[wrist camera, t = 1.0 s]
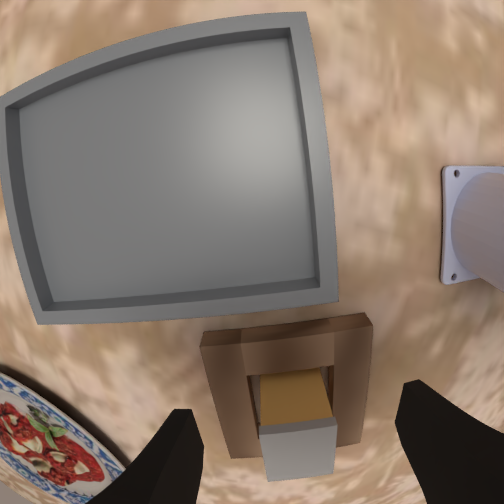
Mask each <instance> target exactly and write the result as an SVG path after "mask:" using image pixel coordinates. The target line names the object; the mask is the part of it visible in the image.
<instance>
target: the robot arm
mask: <svg viewBox="0 0 504 504" xmlns="http://www.w3.org/2000/svg"><path fill="white" fill-rule="evenodd" d="M455 170H456V176H454V171H455ZM442 179H443V247H442V265H441V277H440V278H441V282H442V283H444V284H445V285H449V284H454V283H459V282H464V281H468V280H473V279H477V278H482V279H483V280H485V281H487V282H488V283H490V284H491V285H493V286H494V287H496V288H497V289H499V290H501V291H502V292H504V166H445V167H444V168H443V171H442ZM453 274H454V277H453V278H452V279H451V277H452V275H453ZM395 425H396V428H397V432H398V435H399V438H400V441H401V444H402V447H403V449H404V451H405V453H406V456H407V458H408V460H409V462H410V464H411V466H412V469H413V471H414V473H415V475H416V477H417V479H418V482H419V484H420V486H421V488H422V491H423V493H424V496H425V499H426V502H427V504H504V433H501V432H499V431H497V430H495V429H493V428H491V427H489V426H487V425H485V424H484V423H482V422H480V421H479V420H477V419H475V418H474V417H472V416H470V415H469V414H467V413H466V412H464V411H463V410H461V409H460V408H458V407H457V406H455V405H454V404H453V403H451V402H450V401H448V400H447V399H446V398H444V397H443V396H441V395H440V394H439V393H437V392H436V391H435V390H433V389H432V388H431V387H429V386H428V385H426V384H425V383H424V382H422V381H421V380H415V381H411V382H407V383H404V385H403V390H402V395H401V399H400V403H399V407H398V411H397V415H396V419H395ZM203 454H204V445H203V442H202V439H201V436H200V433H199V430H198V427H197V424H196V421H195V418H194V415H193V412H192V409H174V410H173V411H172V412H171V413H170V415H169V416H168V418H167V419H166V420H165V422H164V423H163V425H162V426H161V427H160V429H159V430H158V431H157V433H156V434H155V435H154V437H153V438H152V439H151V440H150V442H149V443H148V444H147V445H146V447H145V448H144V449H143V450H142V452H141V453H140V454H139V455H138V456H137V457H136V458H135V460H134V461H133V462H132V463H131V464H130V465H129V466H128V467H127V468H126V469H125V470H124V471H123V472H122V473H121V474H120V475H119V476H118V477H117V478H116V479H115V480H114V481H113V482H112V483H111V484H110V485H108V486H107V487H106V488H105V489H104V490H102V491H101V492H100V493H99V494H97V495H96V496H95V497H93V498H92V499H91V500H89V501H88V502H86V503H85V504H196V500H197V495H198V491H199V486H200V480H201V475H202V469H203Z"/></svg>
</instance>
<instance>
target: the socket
mask: <svg viewBox="0 0 504 504" xmlns="http://www.w3.org/2000/svg"><path fill="white" fill-rule="evenodd" d="M372 337H373V325H372V323H371V321H370V320H369V318H368V317H367V315H366V314H365V312H364V313H358V314H352V315H346V316H339V317H333V318H326V319H319V320H312V321H304V322H296V323H288V324H280V325H272V326H263V327H253V328H243V329H233V330H221V331H209V332H204V333H203V337H202V340H201V344H200V350H201V354H202V358H203V362H204V366H205V370H206V374H207V378H208V382H209V385H210V389H211V393H212V396H213V400H214V404H215V407H216V411H217V414H218V418H219V421H220V424H221V428H222V431H223V434H224V438H225V441H226V444H227V448H228V451H229V454H230V457H231V458H253V457H263V454H262V449H261V444H260V439H259V426H261V423H258V420H257V415H256V409H255V403H254V398H253V392H252V386H251V381H250V375H259V374H269V373H279V372H287V371H295V370H303V369H310V368H317V367H324V366H329V385H328V400H329V404H330V408H331V411H332V415H333V417H335V418H336V422H337V438H336V447H342V446H347V445H352V444H357V443H360V441H361V435H362V429H363V422H364V415H365V408H366V400H367V392H368V383H369V373H370V363H371V351H372Z"/></svg>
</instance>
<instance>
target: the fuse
mask: <svg viewBox="0 0 504 504" xmlns="http://www.w3.org/2000/svg"><path fill="white" fill-rule="evenodd" d="M260 404H261V426H259V439H260V444H261V449H262V454H263V459H264V465H265V470H266V475H267V480H268V482H270V481H281V480H291V479H300V478H307V477H315V476H321V475H327V474H333V470H334V460H335V450H336V438H337V422H336V418H335V417H333V415H332V411H331V408H330V404H329V400H328V397H327V393H326V389H325V386H324V382H323V379H322V375H321V372H320V368H319V367H317V368H310V369H303V370H295V371H287V372H279V373H269V374H260Z"/></svg>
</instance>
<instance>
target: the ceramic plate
mask: <svg viewBox="0 0 504 504" xmlns="http://www.w3.org/2000/svg"><path fill="white" fill-rule="evenodd" d="M0 457H1V458H2V459H3V460H4V461H5V462H6V463H7V464H8V465H9V466H10V467H12V468H13V469H14V470H15V471H16V472H17V473H19V474H20V475H21V476H23V477H24V478H25V479H27V480H28V481H29V482H31V483H32V484H34V485H35V486H37V487H38V488H40V489H42V490H43V491H45V492H47V493H48V494H50V495H52V496H54V497H56V498H58V499H60V500H62V501H65V502H67V503H69V504H85V503H86V502H88V501H89V500H91V499H92V498H93V497H95V496H96V495H97V494H99V493H100V492H101V491H102V490H104V489H105V488H106V487H107V486H108V485H110V484H111V483H112V482H113V481H114V480H115V479H116V478H117V477H118V476H119V475H120V474H121V473H122V472H123V471H124V470H125V469H126V468H125V467H124V466H123V465H122V464H121V463H120V462H119V460H118V459H117V458H116V457H115V456H114V455H113V454H112V453H111V452H110V451H109V450H108V449H107V448H106V447H104V446H103V445H102V444H101V443H100V442H99V441H98V440H96V439H95V438H94V437H93V436H92V435H91V434H90V433H89V432H88V431H86V430H85V429H84V428H82V427H81V426H80V425H79V424H77V423H76V422H75V421H74V420H72V419H71V418H70V417H69V416H67V415H66V414H65V413H63V412H62V411H61V410H59V409H58V408H57V407H56V406H54V405H53V404H51V403H50V402H48V401H47V400H46V399H44V398H43V397H41V396H40V395H38V394H37V393H35V392H34V391H33V390H31V389H29V388H28V387H26V386H24V385H23V384H21V383H19V382H18V381H16V380H14V379H13V378H11V377H9V376H7V375H5V374H3V373H1V372H0Z"/></svg>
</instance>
